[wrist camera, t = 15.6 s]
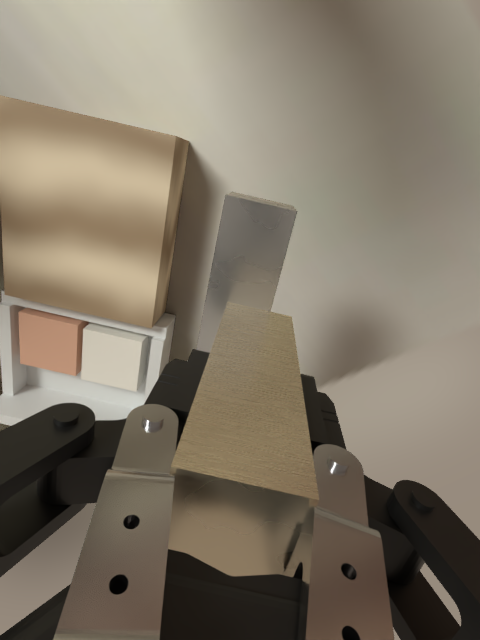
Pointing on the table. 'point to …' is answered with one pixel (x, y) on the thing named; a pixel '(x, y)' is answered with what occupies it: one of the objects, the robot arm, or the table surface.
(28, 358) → the terracotta tile
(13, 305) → the box
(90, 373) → the offwhite tile
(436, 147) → the table surface
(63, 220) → the tan flat block
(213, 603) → the robot arm
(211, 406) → the scraper
